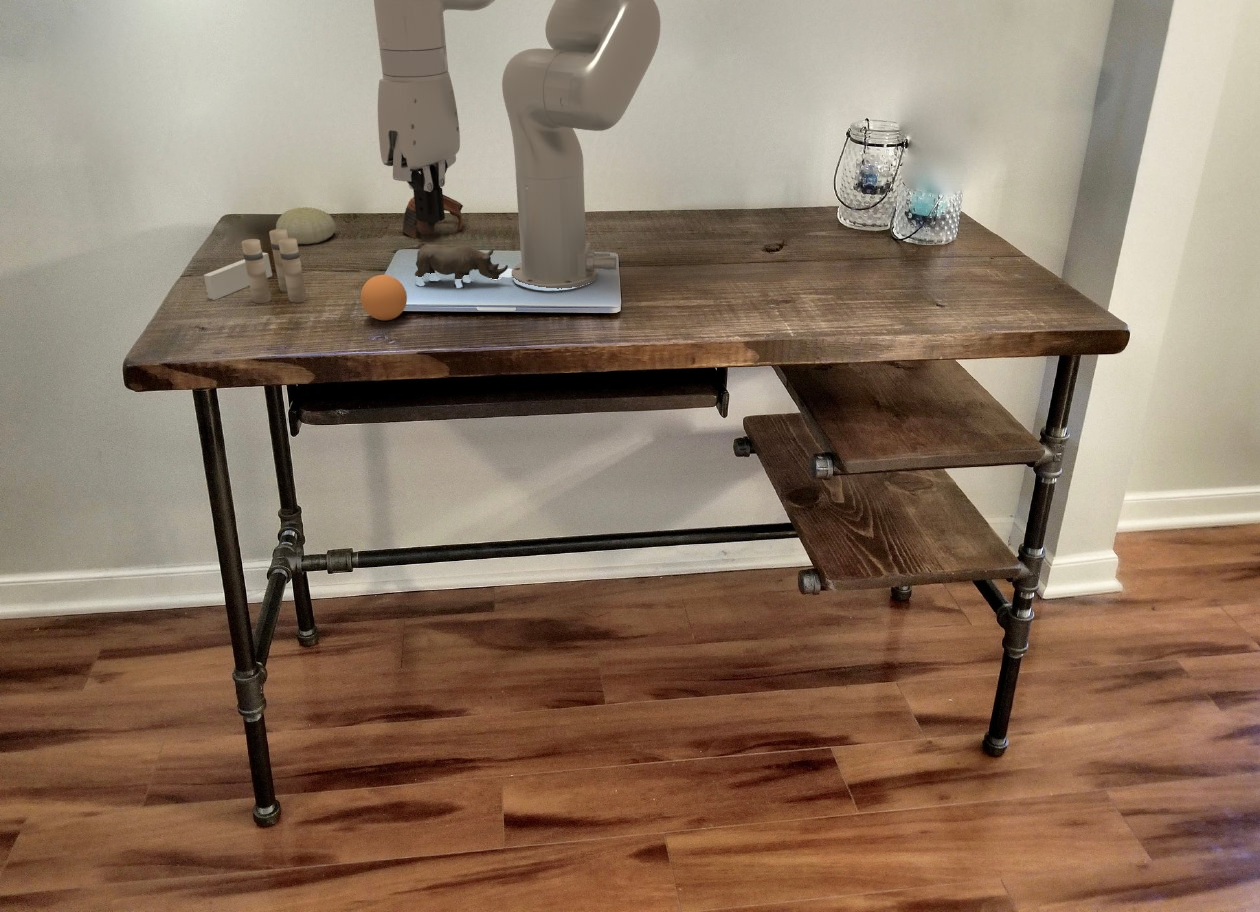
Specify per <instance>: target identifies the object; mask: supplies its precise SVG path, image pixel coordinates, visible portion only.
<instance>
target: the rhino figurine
mask: <svg viewBox="0 0 1260 912" xmlns="http://www.w3.org/2000/svg"><path fill="white" fill-rule="evenodd" d="M494 250H495V249H494V248H492V249H490V250H489V251H488V252H486V253H485V252H483V251H481V250H480V249H477V248H476V247H472V246H470V245H459V246H456V247H447V246H443V245H439V244H424V245H422V247H420V248H419V249H418V251H417V254H416V255H417V257H416V262H415V266H416V267H417V270H416V271H415V273H414V275H415V277H416V276H418V277H422V276H423V277H424V276H425V275H426V274H427V273H430V274H431V273H438V274H441V275H444V276H448V275H449V276H450V275H453V274H454V280H455V279H462V280H463V276H464V275H469V276H470V273H471V272H472V271H473V270H474V271H478V272H479V274H480V275H481V276H483V277H485V278H488V279H489V278H492V279H498V278H500V276H501V275H502V274H504V273H505V272H506V271H507V270H508V268H509V265H508V264H506V265H505V266H504V267H503V268H499V266H500V263H496V264H494V263H493V262H492V261H491V259H492V257H491V256H492V255H493V254H494ZM492 279H491V280H492ZM498 280H499V279H498Z"/></svg>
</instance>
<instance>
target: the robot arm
mask: <svg viewBox="0 0 1260 912" xmlns="http://www.w3.org/2000/svg"><path fill="white" fill-rule="evenodd" d="M495 1H496V0H373V5H374V15H375V21H376V30H377V31H376V32H377V40H378V47H379V56H380V63H381V64H380V66H381V73H382V78H381V79H379V80H378V88H377V89H378V90H377V92H378V93H377V127H378V129H377V130H378V141H379V151H380V159H381V162H382V163H383V165H384V166H386V167H392V179H393V180H395V181H399V182H406V183H407V184H408V187H409V189H411V190H413V191H412V192H413V197H414V201H415V210H416V218H417V220H419V221H424V222H430V223H435V224H437V223H439V222H442V221H444V220H445V218H446V214H445V213H446V212H445V210H444V202H443V195H444V194H443V193H444V192H443V187H445V185H446V173H447V170H448V169H449V168H450V167H451V166H453V165H454V164H455V163H456V162H457V157H456V155H457V154H458V153H459V151H460V147H461V146H460V145H461V135H460V123H459V116H458V115H459V114H458V108H457V102H456V97H455V92H454V87H453V83H452V79H451V76H450V72H449V65H448V64H449V63H448V54H447V43H446V42H447V41H446V30H445V20H444V19H445V18H444V12H445V11H448V10H449V11H451V10H454V11H465V12H466V11H469V12H472V11H473V12H474V11H479V10H482V9H485V8H487V7H488V6H490V5H491V4H493V3H494V2H495ZM661 27H662V26H661V15H660V10H659V8H658V5H657V4H656V1H655V0H554V2H553V4H552V6H551V9H550V11H549V13H548V16H547V19H546V22H545V37H546V40H547V42H548V45H549V46H550V48H541V47H540V48H537V47H536V48H530V49H525V50H522V51H519V52H517V53H515V55H514V56H513V57H511V58H510V59H509V61H508V63H506V66H505V67H504V71H503V75H502V81H501V82H502V83H501V88H502V90H501V91H502V97H503V101H504V106H505V110H506V113H507V116H508V120H509V124H510V125H509V127H510V131H511V136H512V143H513V153H514V169H515V184H516V196H517V197H516V198H517V201H516V202H517V215H518V217H517V218H518V229H519V245H520V247H519V248H520V260H521V262H519V263H518V264H517V265H515V266H514V267H513V268H512V270H511V277H512V276H513V278H515V279H516V280H518V281H519V282H522V283H525V284H528V285H534V286H538V287H546V288H557V289H559V288H561V289H562V288H572V287H580V286H582V285H586V284H588V283H590V284H592V283H593V282H595V280H597V278H598V274H599V273H598V269H601V270H602V269H603V270H609V271H610V270H612V271H613V270H614V271H615V270H617V256H616V255H614V256H613V255H611V252H595V250H591V242H587V237H586V236H587V235H586V231H587V230H586V207H585V204H586V203H585V178H584V177H585V176H584V175H585V174H584V172H585V170H584V168H585V167H584V156H583V150H582V147H581V144H580V141H579V138H578V136H577V134H576V132H575V130H574V129H576V130H583V131H584V130H585V131H593V132H602V131H606V130H609V129H611V128H613V127H614V126H615V125H617V123H619V121H620V120H621V119H622V118H623V116H624V115H625V113H626V111H627V109H628V107H629V105H630V104H631V102H632V99H633V97H634V96H635V94H636V92H637V90H638V88H639V86H640V84H641V82H642V80H643V78H644V76H645V74H646V72H647V71H648V69H649V67H650V64H651V63H652V60H653V58H654V56H655V53H656V51H657V50H658V49H657V48H658V45H659V41H660V36H661ZM591 282H592V283H591ZM588 285H589V284H588ZM586 286H587V285H586ZM580 288H581V287H580Z"/></svg>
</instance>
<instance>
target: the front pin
mask: <svg viewBox="0 0 1260 912" xmlns="http://www.w3.org/2000/svg"><path fill="white" fill-rule="evenodd" d="M278 242H279V248H280V255H281V259H282V264H283V269H284V275H285V280H286V286H287V291H288V292H287V295H288V301H289V302H290V303H295V304H296V303H297V304H298V303H302V302H305V301H307V300H308V299H307V298H308V297H307V292H306V285H305V280H304V275H303V268H302V264H301V258H300V257H301V256H300V255H301V254H300V249H299V246H298V245H299V244H297V240H296V239H294V238H286V239H282V240H279V241H278Z"/></svg>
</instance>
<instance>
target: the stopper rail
mask: <svg viewBox="0 0 1260 912" xmlns="http://www.w3.org/2000/svg"><path fill="white" fill-rule="evenodd" d="M262 253H263V260H264V266H265V271H266V276H267V279H268V278H271V277H273V271H272V267H271V262H270V257H269V253H267V252H263V251H262ZM203 278H204V279H203V280H204V282H205V283H204V284H205V288H206V292H207V296H208V299H210V300H213V301H216V300H218V299H220V298H224V297H225V296H228V295H230V294H232V293H235V292H238V291H240V290H242V289H245V288H247V287H250V283H249V278H248V273H247V268H246V263H245V259H244V258H243V259H241V260H239V261H236V262H234V263H231V264H229V265H226V266H223V267H221V268H219V269H216V270H212V271H211V272H208V273H205V274H203Z"/></svg>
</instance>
